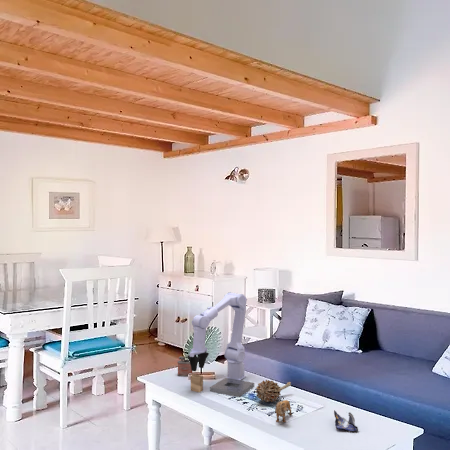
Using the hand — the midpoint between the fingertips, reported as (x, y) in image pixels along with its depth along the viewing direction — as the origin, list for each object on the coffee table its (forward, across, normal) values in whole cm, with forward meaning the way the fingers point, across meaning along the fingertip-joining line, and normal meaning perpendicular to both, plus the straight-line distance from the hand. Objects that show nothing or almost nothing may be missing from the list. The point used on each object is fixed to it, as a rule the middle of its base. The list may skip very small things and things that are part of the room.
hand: (197, 369), depth 233 cm
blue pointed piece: (+10, +10, +72) cm, 74 cm away
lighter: (+10, -18, -16) cm, 26 cm away
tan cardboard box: (+10, -1, 0) cm, 10 cm away
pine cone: (+9, -5, +37) cm, 39 cm away
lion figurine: (+10, +14, +48) cm, 51 cm away
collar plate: (+9, -10, +14) cm, 20 cm away
